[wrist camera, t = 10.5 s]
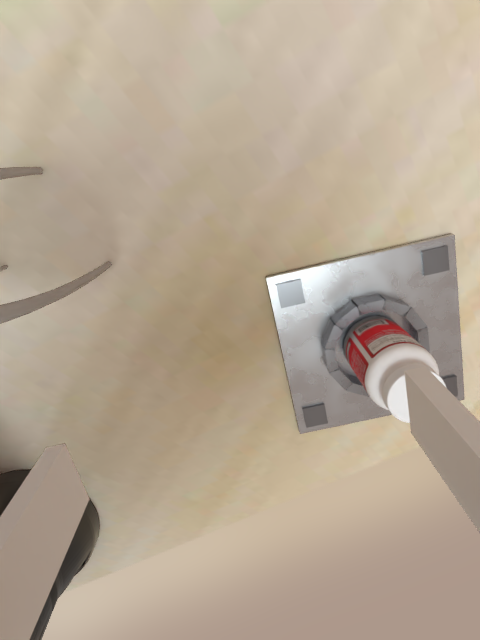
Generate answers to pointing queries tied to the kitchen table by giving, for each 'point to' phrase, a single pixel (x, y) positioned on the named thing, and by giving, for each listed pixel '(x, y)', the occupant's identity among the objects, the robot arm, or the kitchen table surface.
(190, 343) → the kitchen table surface
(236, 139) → the kitchen table surface
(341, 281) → the duct flange
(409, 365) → the pill bottle
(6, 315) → the juicer
